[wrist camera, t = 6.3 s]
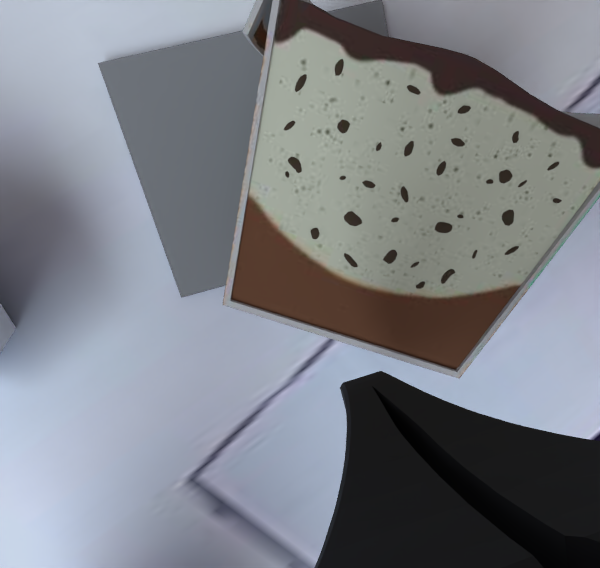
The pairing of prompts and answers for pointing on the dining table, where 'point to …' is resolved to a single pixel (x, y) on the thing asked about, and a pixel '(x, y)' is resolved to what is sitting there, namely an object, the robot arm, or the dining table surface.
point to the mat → (197, 140)
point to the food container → (398, 189)
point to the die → (5, 328)
